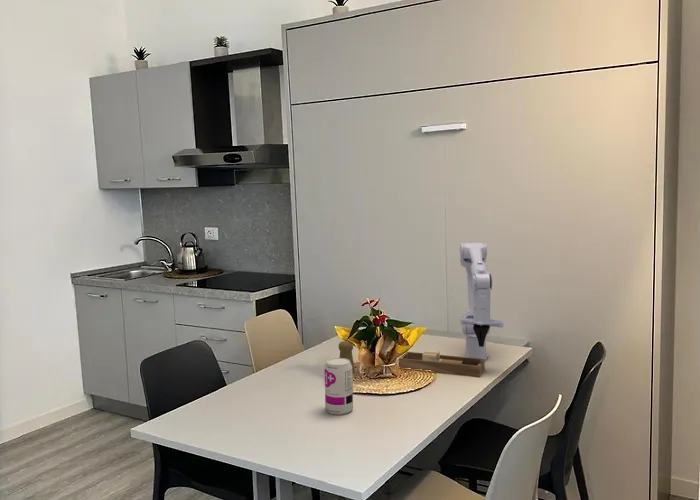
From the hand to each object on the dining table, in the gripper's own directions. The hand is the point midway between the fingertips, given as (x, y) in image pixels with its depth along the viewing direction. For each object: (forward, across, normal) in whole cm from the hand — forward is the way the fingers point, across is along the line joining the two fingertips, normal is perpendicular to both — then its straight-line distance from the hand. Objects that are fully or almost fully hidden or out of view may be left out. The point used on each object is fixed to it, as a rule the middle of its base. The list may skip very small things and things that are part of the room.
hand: (481, 346), depth 217 cm
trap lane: (+9, -14, -1) cm, 17 cm away
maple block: (+7, -18, -1) cm, 19 cm away
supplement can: (+10, -33, -49) cm, 60 cm away
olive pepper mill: (+10, -45, -15) cm, 48 cm away
